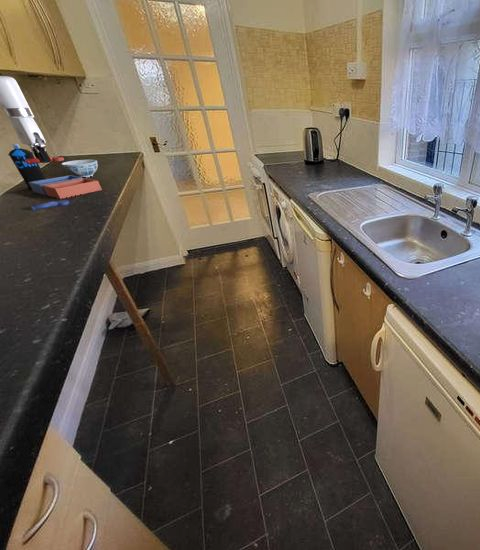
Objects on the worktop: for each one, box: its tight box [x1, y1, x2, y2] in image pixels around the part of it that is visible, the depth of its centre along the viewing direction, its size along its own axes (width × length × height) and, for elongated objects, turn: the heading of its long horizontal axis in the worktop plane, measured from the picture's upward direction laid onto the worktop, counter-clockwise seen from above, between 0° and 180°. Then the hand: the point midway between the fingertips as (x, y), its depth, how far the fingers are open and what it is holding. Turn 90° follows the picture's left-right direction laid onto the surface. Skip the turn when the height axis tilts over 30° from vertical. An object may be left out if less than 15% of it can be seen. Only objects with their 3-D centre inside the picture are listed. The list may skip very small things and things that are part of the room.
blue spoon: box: [29, 199, 70, 211], centre depth 122 cm, size 12×4×2 cm, turn 155°
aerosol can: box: [7, 143, 47, 190], centre depth 142 cm, size 8×8×20 cm
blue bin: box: [29, 174, 83, 196], centre depth 144 cm, size 17×11×5 cm, turn 155°
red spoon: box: [25, 156, 65, 164], centre depth 126 cm, size 12×4×2 cm, turn 154°
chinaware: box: [61, 159, 99, 178], centre depth 165 cm, size 15×15×8 cm
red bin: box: [43, 177, 103, 200], centre depth 139 cm, size 17×11×5 cm, turn 155°
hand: (45, 161), depth 126 cm, fingers closed on red spoon, 2 cm apart
